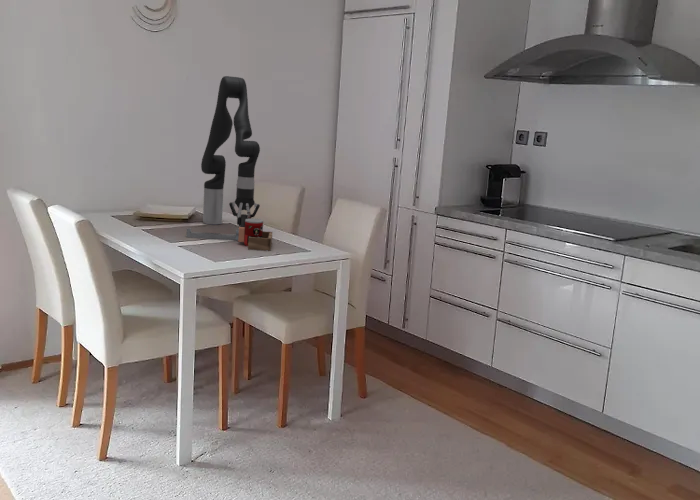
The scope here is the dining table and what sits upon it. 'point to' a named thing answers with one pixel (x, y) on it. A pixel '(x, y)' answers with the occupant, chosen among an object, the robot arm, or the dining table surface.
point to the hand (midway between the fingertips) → (243, 225)
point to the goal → (261, 242)
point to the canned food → (253, 229)
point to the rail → (210, 235)
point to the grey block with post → (241, 228)
